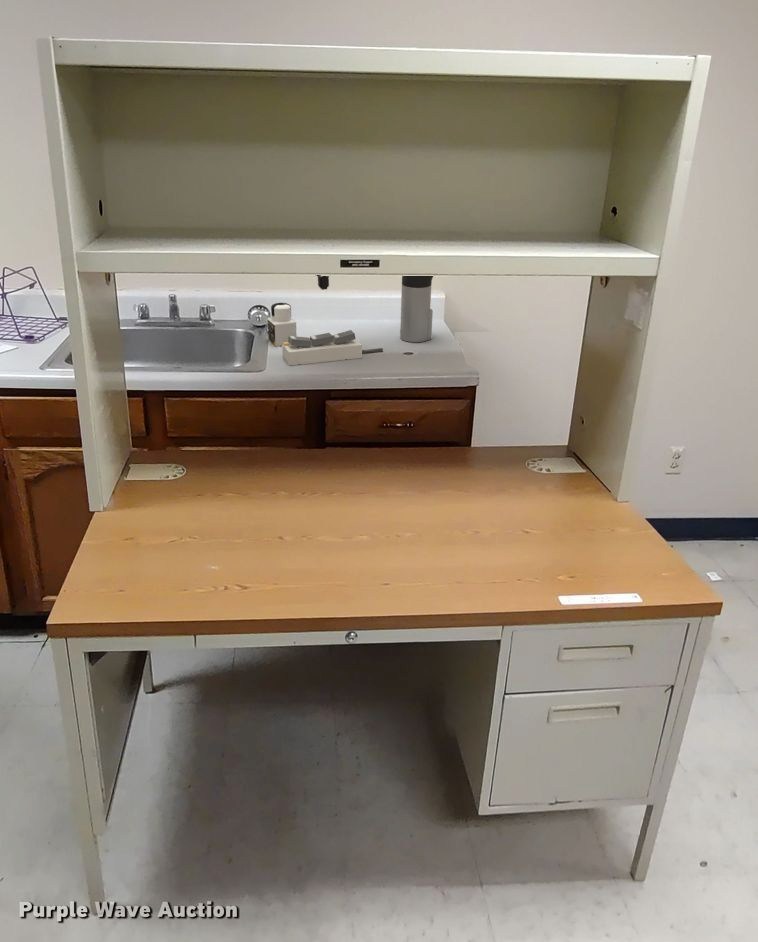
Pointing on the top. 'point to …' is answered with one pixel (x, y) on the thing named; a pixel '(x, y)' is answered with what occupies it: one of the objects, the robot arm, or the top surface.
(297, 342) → the rocker
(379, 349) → the power strip
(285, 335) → the medicine bottle
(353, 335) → the rocker
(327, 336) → the rocker middle
